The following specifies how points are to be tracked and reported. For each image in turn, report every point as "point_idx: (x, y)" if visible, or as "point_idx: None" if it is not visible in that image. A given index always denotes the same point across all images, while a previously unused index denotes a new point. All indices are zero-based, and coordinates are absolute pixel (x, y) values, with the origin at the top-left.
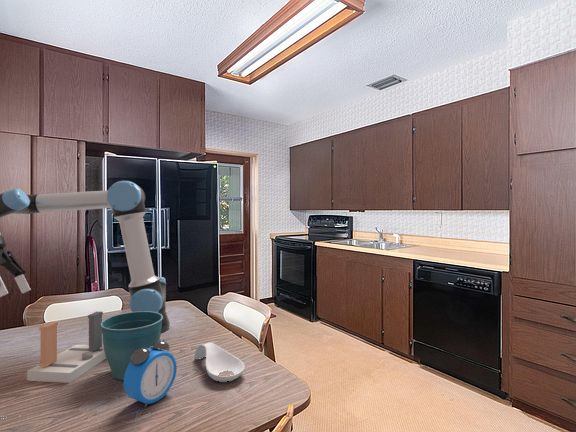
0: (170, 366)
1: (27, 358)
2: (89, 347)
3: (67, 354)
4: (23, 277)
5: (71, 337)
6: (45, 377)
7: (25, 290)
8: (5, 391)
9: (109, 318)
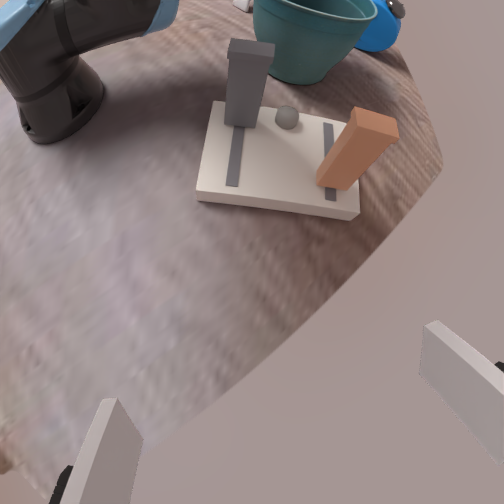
0: None
1: (233, 316)
2: (256, 120)
3: (268, 173)
4: (80, 499)
5: (75, 289)
6: None
7: (129, 426)
8: (388, 233)
9: (315, 11)
